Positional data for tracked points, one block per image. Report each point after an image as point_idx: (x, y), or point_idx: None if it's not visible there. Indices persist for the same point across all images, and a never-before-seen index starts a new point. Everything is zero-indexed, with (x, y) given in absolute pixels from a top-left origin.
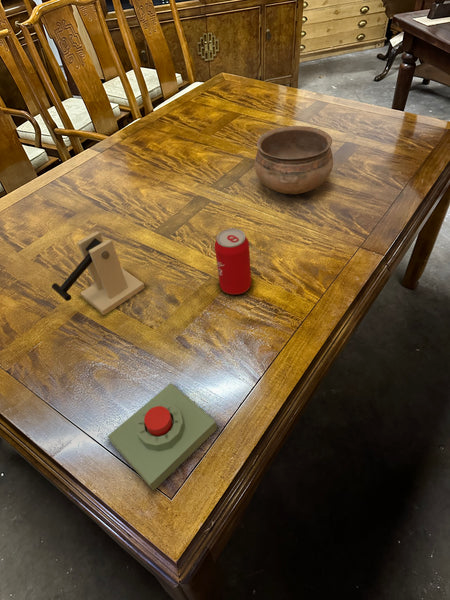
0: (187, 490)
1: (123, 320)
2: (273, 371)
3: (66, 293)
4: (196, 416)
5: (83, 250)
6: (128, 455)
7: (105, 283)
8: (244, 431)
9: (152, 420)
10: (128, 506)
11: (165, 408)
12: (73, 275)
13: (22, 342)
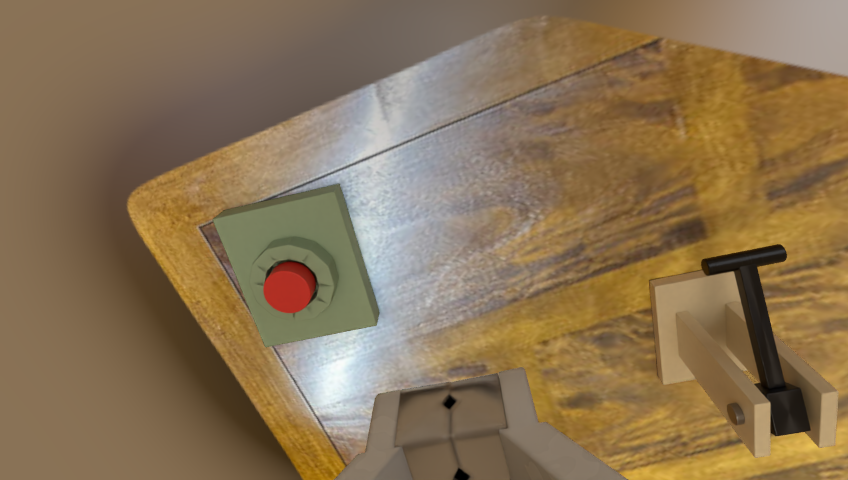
0: (201, 252)
1: (603, 306)
2: (321, 445)
3: (719, 271)
4: (289, 328)
5: (804, 381)
6: (278, 209)
7: (698, 342)
8: (249, 361)
9: (285, 284)
10: (217, 166)
11: (297, 311)
12: (755, 314)
13: (720, 96)
